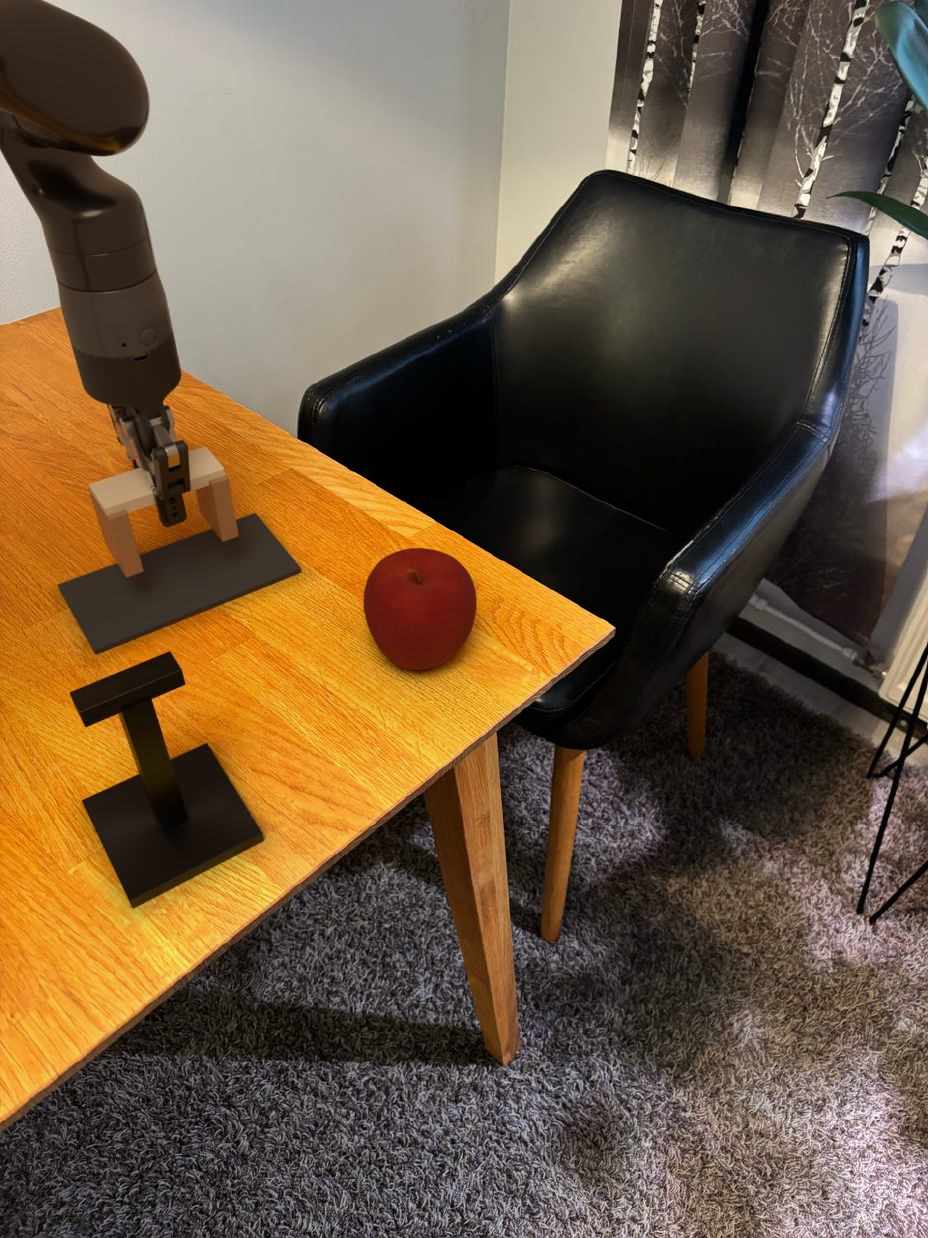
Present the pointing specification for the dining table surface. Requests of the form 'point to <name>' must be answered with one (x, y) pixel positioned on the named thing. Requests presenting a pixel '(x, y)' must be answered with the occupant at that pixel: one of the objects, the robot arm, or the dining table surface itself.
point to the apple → (419, 607)
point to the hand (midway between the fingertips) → (164, 507)
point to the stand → (160, 790)
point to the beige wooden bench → (134, 493)
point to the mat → (176, 583)
